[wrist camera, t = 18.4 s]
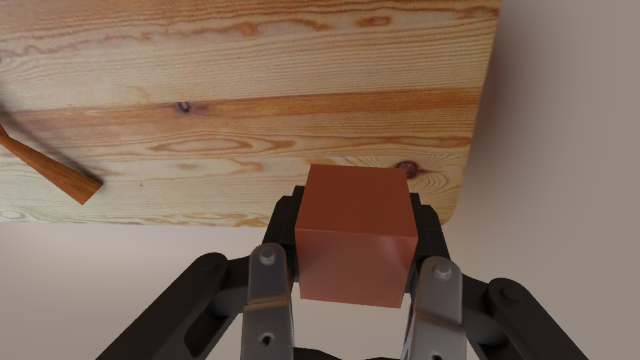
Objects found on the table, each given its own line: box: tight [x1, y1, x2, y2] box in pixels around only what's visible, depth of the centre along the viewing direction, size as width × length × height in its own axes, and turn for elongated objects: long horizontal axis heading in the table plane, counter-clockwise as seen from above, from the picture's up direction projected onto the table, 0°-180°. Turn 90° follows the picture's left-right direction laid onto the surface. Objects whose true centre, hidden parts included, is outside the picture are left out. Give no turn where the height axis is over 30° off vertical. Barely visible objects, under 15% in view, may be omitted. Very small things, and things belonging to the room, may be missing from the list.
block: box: [294, 164, 418, 308], centre depth 12 cm, size 4×4×4 cm
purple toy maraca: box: [0, 124, 102, 205], centre depth 34 cm, size 6×6×20 cm
